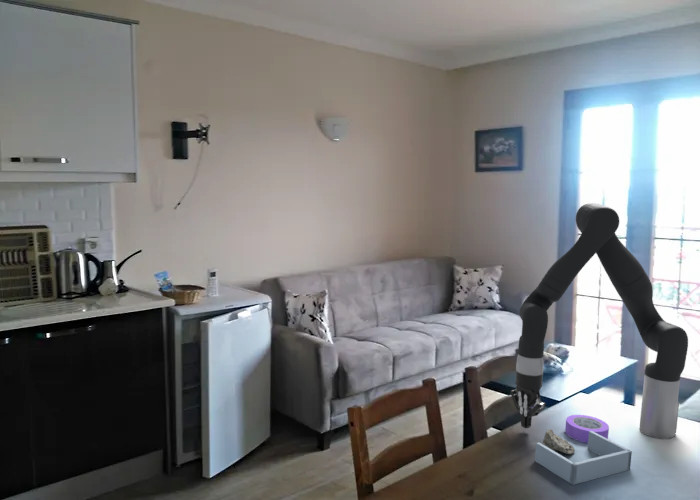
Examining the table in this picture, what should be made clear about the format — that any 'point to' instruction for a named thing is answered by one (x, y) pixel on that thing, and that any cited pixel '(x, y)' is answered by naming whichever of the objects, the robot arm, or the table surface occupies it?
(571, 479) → the box
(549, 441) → the rock sample
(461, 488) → the table surface
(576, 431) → the masking tape
